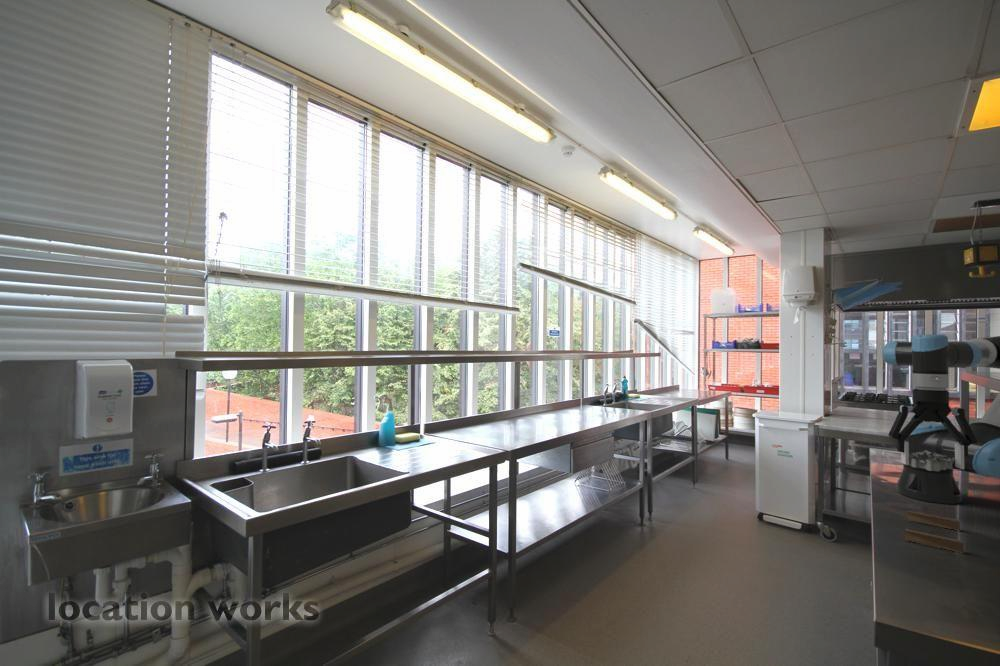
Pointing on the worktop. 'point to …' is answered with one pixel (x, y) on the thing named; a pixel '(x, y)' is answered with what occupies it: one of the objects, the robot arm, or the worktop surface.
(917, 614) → the worktop surface
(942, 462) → the egg carton
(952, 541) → the parallel wooden rails
